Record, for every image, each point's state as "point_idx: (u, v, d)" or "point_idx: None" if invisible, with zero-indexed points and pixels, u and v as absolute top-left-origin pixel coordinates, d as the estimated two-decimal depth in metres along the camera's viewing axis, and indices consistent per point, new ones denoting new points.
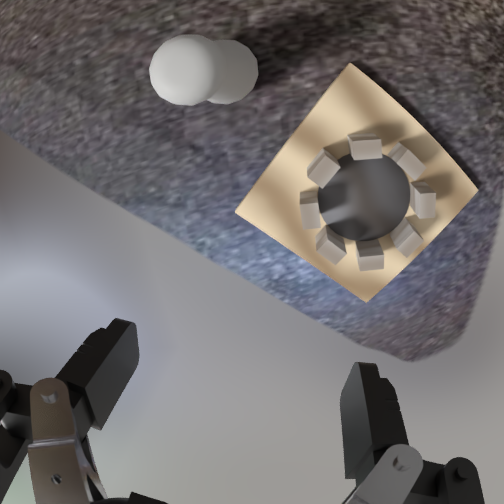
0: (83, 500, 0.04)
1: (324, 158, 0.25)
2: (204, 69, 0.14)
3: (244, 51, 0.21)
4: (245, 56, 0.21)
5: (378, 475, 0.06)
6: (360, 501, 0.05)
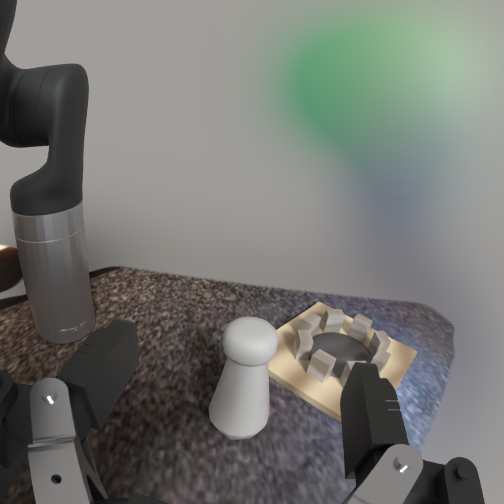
0: (83, 500, 0.04)
1: (314, 355, 0.35)
2: (256, 319, 0.25)
3: None
4: None
5: (378, 475, 0.06)
6: (360, 501, 0.05)
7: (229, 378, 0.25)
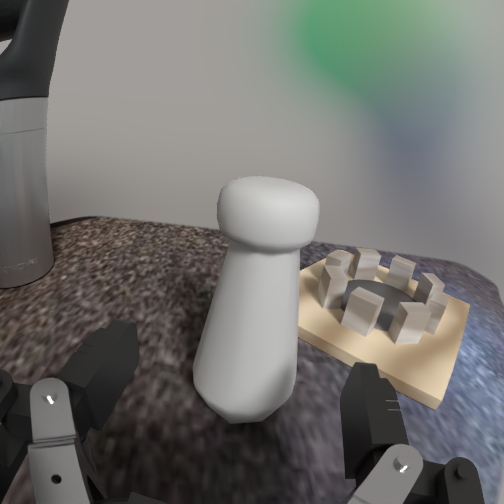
0: (83, 500, 0.04)
1: (353, 294, 0.24)
2: (277, 178, 0.14)
3: None
4: None
5: (378, 475, 0.06)
6: (360, 501, 0.05)
7: (227, 290, 0.14)
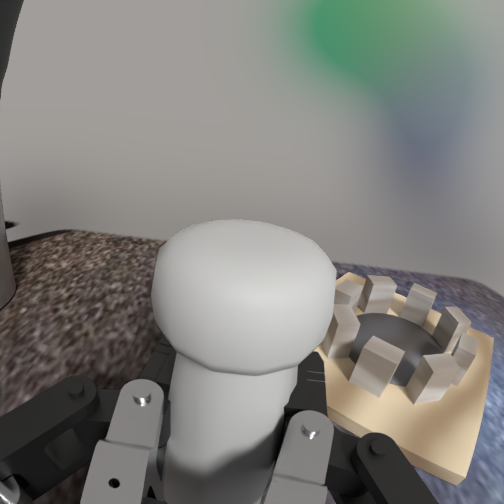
0: None
1: (367, 348, 0.18)
2: (262, 222, 0.08)
3: None
4: None
5: (291, 447, 0.07)
6: (282, 478, 0.05)
7: (181, 407, 0.08)
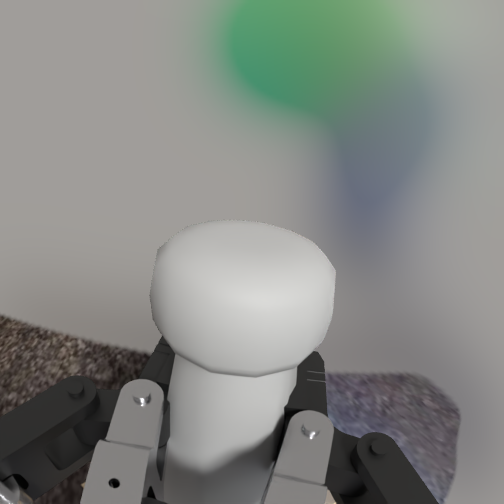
0: None
1: None
2: (261, 223, 0.08)
3: None
4: None
5: (290, 447, 0.07)
6: (282, 478, 0.05)
7: (180, 408, 0.08)
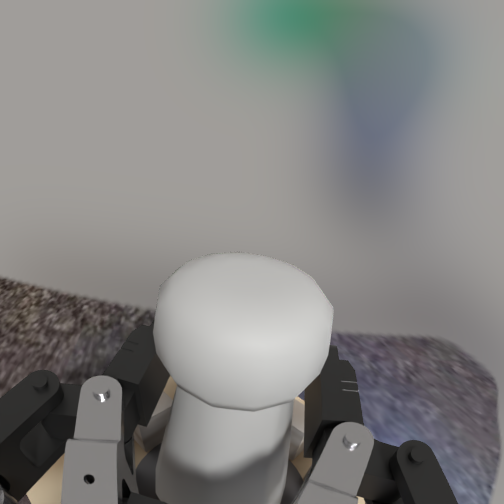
0: None
1: None
2: (262, 256, 0.08)
3: None
4: None
5: (329, 456, 0.06)
6: (317, 485, 0.05)
7: (182, 430, 0.08)
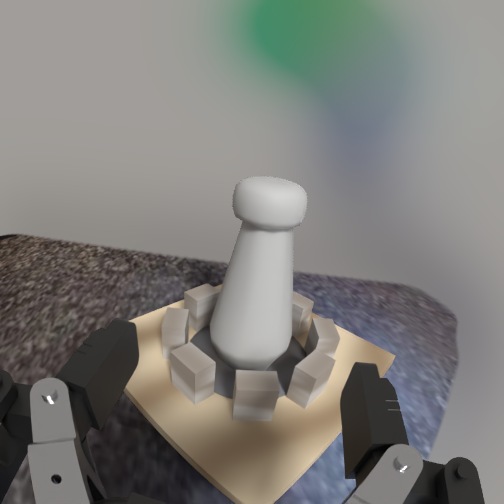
0: (83, 500, 0.04)
1: (173, 353, 0.18)
2: None
3: None
4: None
5: (378, 475, 0.06)
6: (360, 501, 0.05)
7: (239, 259, 0.19)
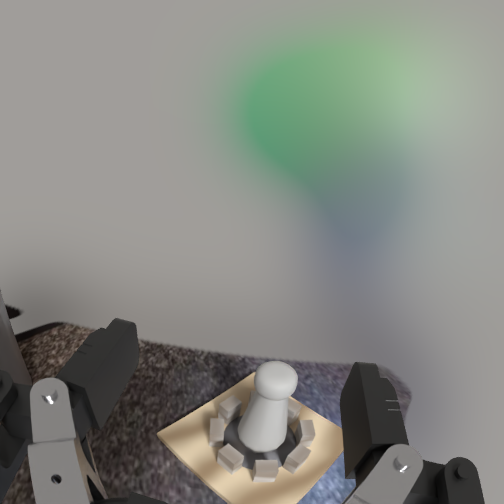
0: (83, 500, 0.04)
1: (220, 451, 0.30)
2: (280, 363, 0.31)
3: None
4: None
5: (378, 475, 0.06)
6: (360, 501, 0.05)
7: (257, 408, 0.30)
